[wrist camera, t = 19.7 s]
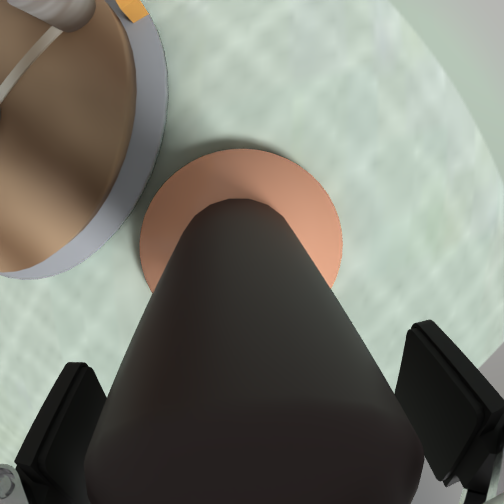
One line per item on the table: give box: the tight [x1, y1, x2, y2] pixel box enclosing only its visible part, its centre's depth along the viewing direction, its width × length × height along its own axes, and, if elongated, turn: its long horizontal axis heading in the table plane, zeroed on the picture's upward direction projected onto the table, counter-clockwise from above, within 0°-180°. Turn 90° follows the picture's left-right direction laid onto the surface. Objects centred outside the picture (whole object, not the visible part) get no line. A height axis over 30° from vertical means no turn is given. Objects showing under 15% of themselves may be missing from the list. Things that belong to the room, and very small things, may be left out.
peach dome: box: [140, 148, 343, 293], centre depth 19 cm, size 12×12×1 cm
